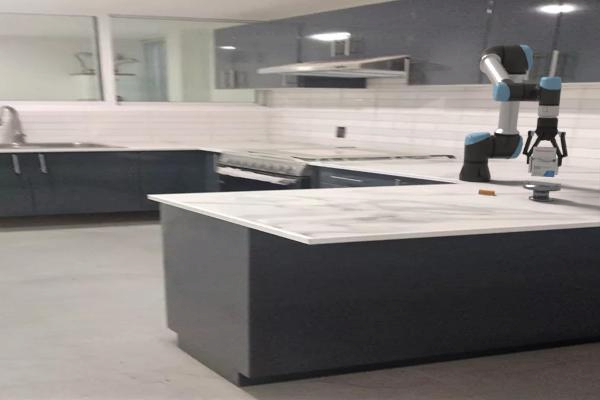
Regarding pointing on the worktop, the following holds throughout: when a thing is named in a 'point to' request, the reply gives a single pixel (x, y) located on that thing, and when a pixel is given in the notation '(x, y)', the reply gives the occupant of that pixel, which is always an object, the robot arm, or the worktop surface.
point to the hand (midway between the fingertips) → (542, 173)
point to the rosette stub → (541, 190)
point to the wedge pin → (486, 192)
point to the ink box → (543, 161)
